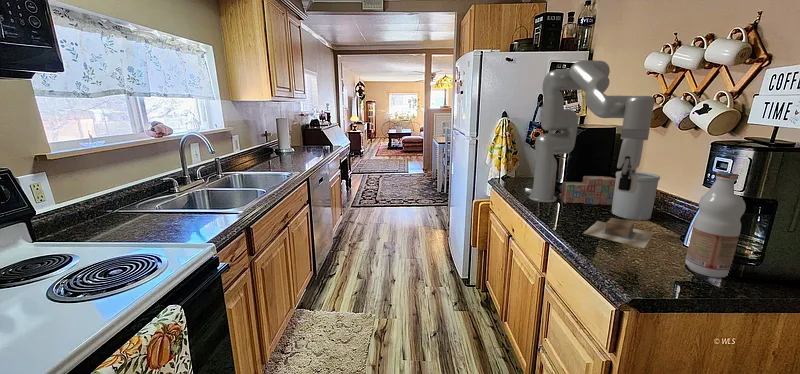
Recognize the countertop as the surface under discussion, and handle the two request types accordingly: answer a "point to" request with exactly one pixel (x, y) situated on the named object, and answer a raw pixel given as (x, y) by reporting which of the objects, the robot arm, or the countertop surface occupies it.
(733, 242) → the fruit juice
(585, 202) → the stack of blocks
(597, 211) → the countertop surface
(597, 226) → the board
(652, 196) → the utensil holder
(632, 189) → the cream block
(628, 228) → the walnut foundation
